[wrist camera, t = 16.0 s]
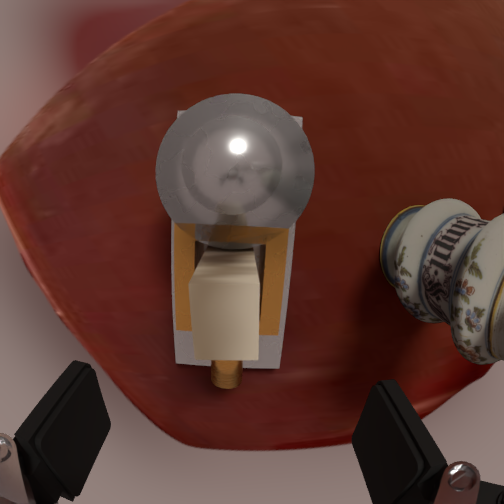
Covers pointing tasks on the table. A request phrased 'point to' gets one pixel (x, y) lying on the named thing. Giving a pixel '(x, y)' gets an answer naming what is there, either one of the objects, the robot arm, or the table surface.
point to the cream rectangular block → (225, 305)
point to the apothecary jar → (450, 273)
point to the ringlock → (234, 208)
